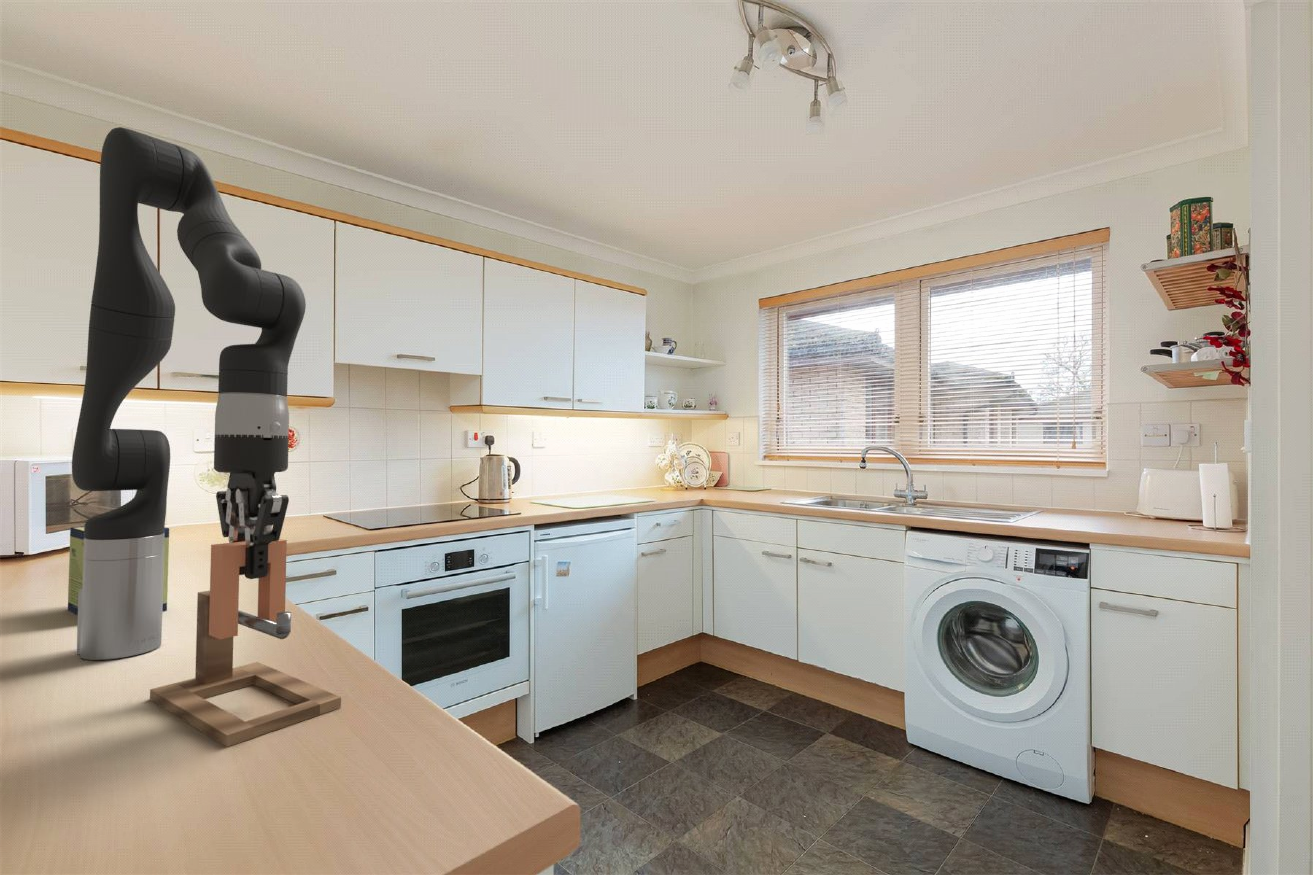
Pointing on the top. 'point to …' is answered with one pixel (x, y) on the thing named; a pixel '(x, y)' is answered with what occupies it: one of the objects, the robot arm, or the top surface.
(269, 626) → the hook arm
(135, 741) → the top surface
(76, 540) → the protein box
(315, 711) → the wooden hook stand
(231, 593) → the salmon wooden arch
